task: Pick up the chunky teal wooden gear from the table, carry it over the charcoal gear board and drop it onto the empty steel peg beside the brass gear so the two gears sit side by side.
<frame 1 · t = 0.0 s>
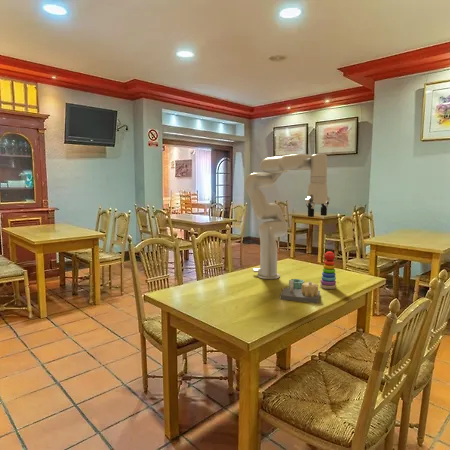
hand: (317, 216, 169), 37 cm above the table, tool pointing down, fingers open, 9 cm apart
gear board: (300, 297, 165), on the table
teal gear: (296, 289, 176), on the table
stacking toy: (328, 287, 179), on the table
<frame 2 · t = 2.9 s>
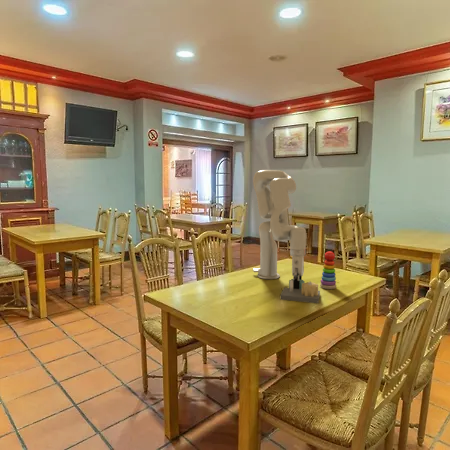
hand: (297, 285, 175), 2 cm above the table, tool pointing down, fingers open, 9 cm apart
nothing on the table moved.
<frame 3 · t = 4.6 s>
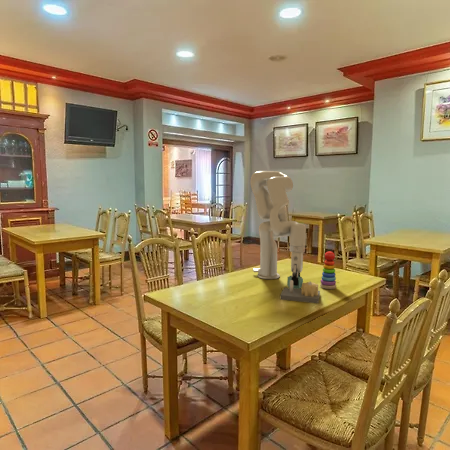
hand: (295, 282, 176), 3 cm above the table, tool pointing down, fingers closed on teal gear, 7 cm apart
teal gear: (294, 286, 177), point 1 cm above the table, touching gripper
everything else where it was.
when the fingers open (4 cm above the table, at t = 9.5 s): teal gear stays where it is, resting on gear board.
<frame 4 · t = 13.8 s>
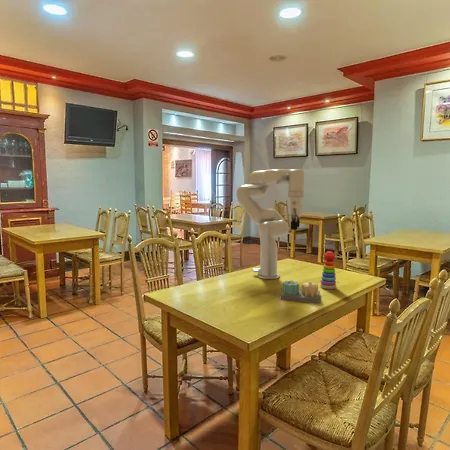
hand: (295, 228, 177), 30 cm above the table, tool pointing down, fingers open, 9 cm apart
teal gear: (290, 292, 166), point 2 cm above the table, touching gear board
everything else where it was.
at the end: teal gear 0.3 cm from the target spot on the gear board, point 2.0 cm above the gear board's base; teal gear tilted 0°; the gripper is holding nothing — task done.
